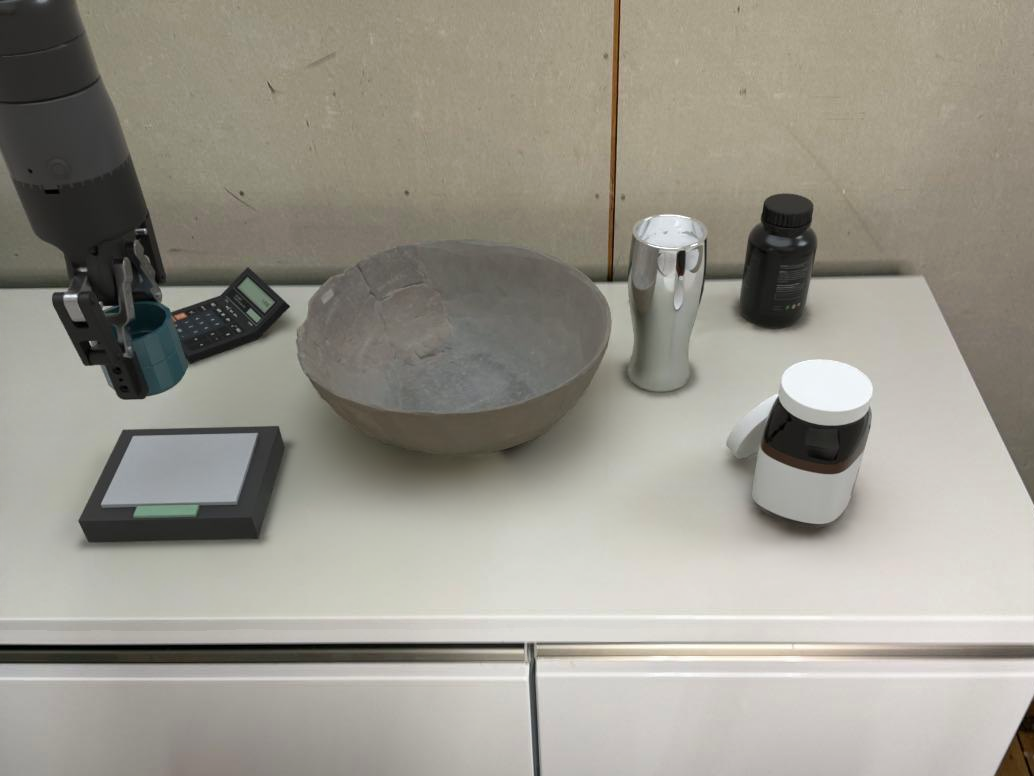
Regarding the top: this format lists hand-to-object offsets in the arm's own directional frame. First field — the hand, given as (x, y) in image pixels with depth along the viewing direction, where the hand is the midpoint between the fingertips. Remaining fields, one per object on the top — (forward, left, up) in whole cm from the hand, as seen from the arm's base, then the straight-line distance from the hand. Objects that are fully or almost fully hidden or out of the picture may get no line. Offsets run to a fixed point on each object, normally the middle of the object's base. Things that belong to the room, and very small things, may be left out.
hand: (146, 370), depth 74 cm
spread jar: (+51, -1, -13) cm, 53 cm away
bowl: (+23, +12, -13) cm, 29 cm away
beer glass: (+42, +16, -13) cm, 47 cm away
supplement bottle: (+55, +27, -13) cm, 63 cm away
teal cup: (0, 0, -1) cm, 1 cm away
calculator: (-3, +27, -13) cm, 30 cm away
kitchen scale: (0, 0, -12) cm, 12 cm away
